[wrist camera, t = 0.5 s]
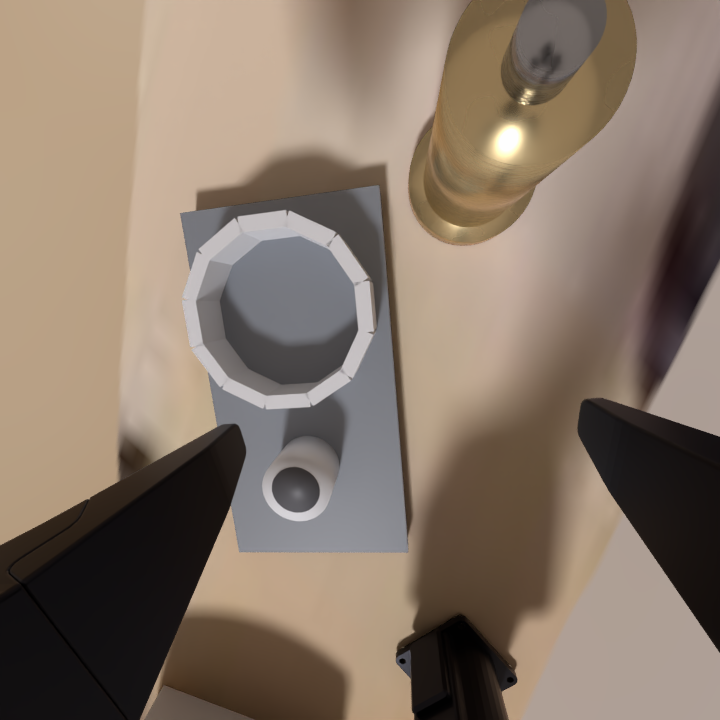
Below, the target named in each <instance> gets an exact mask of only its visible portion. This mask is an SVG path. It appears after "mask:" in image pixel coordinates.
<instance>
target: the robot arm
mask: <svg viewBox="0 0 720 720" xmlns="http://www.w3.org/2000/svg"><path fill="white" fill-rule="evenodd" d="M577 429H578V435H579V437H580V439H581V441H582V443H583V445H584V447H585V448H586V450H587V452H588V454H589V456H590V458H591V459H592V461H593V463H594V465H595V467H596V469H597V471H598V472H599V474H600V476H601V478H602V480H603V482H604V483H605V485H606V487H607V489H608V490H609V492H610V493H611V495H612V496H613V498H614V499H615V501H616V502H617V504H618V505H619V507H620V508H621V510H622V511H623V513H624V514H625V515H626V517H627V518H628V520H629V521H630V523H631V524H632V526H633V527H634V529H635V530H636V531H637V533H638V534H639V536H640V537H641V539H642V540H643V542H644V543H645V545H646V546H647V548H648V549H649V550H650V552H651V553H652V555H653V556H654V558H655V559H656V561H657V562H658V564H659V565H660V566H661V568H662V569H663V571H664V572H665V574H666V575H667V576H668V578H669V579H670V581H671V582H672V584H673V585H674V587H675V588H676V590H677V591H678V593H679V594H680V595H681V597H682V598H683V600H684V601H685V603H686V604H687V606H688V607H689V609H690V610H691V612H692V613H693V614H694V616H695V617H696V619H697V620H698V622H699V623H700V625H701V626H702V627H703V629H704V630H705V632H706V633H707V635H708V636H709V638H710V639H711V641H712V642H713V644H714V645H715V647H716V648H717V649H718V651H719V652H720V437H718V436H716V435H713V434H710V433H707V432H704V431H701V430H698V429H695V428H692V427H689V426H686V425H682V424H680V423H676V422H673V421H671V420H668V419H665V418H661V417H658V416H655V415H653V414H650V413H646V412H643V411H640V410H637V409H634V408H631V407H628V406H625V405H622V404H619V403H616V402H613V401H610V400H607V399H604V398H591V399H585V400H583V401H582V403H581V406H580V413H579V420H578V427H577ZM245 458H246V446H245V442H244V439H243V436H242V433H241V430H240V427H239V426H238V425H237V424H235V423H233V424H222V425H220V426H218V427H217V428H215V429H213V430H211V431H209V432H208V433H206V434H204V435H202V436H200V437H198V438H197V439H195V440H193V441H191V442H189V443H188V444H186V445H184V446H182V447H180V448H179V449H177V450H175V451H173V452H171V453H170V454H168V455H166V456H164V457H162V458H161V459H159V460H157V461H155V462H153V463H152V464H150V465H148V466H146V467H144V468H143V469H141V470H139V471H137V472H135V473H134V474H132V475H130V476H128V477H126V478H124V479H123V480H121V481H119V482H117V483H115V484H114V485H112V486H110V487H108V488H107V489H105V490H103V491H101V492H99V493H97V494H96V495H94V496H92V497H91V498H90V500H89V499H87V500H85V501H83V502H81V503H79V504H77V505H76V506H74V507H72V508H70V509H68V510H67V511H65V512H63V513H61V514H59V515H57V516H55V517H54V518H52V519H50V520H48V521H46V522H45V523H43V524H41V525H39V526H37V527H35V528H33V529H31V530H29V531H27V532H25V533H23V534H21V535H19V536H17V537H16V538H14V539H12V540H10V541H8V542H6V543H4V544H2V545H0V720H140V718H141V715H142V713H143V710H144V708H145V706H146V703H147V701H148V699H149V696H150V694H151V692H152V689H153V687H154V685H155V682H156V680H157V678H158V675H159V673H160V671H161V668H162V666H163V664H164V661H165V659H166V656H167V654H168V652H169V649H170V647H171V645H172V642H173V640H174V638H175V635H176V633H177V631H178V628H179V626H180V624H181V621H182V619H183V617H184V614H185V612H186V610H187V607H188V605H189V603H190V600H191V598H192V595H193V593H194V591H195V588H196V586H197V584H198V581H199V579H200V577H201V574H202V572H203V570H204V567H205V565H206V563H207V560H208V558H209V556H210V553H211V551H212V549H213V546H214V544H215V541H216V539H217V537H218V534H219V532H220V530H221V527H222V525H223V523H224V520H225V518H226V516H227V513H228V511H229V508H230V506H231V503H232V500H233V497H234V494H235V490H236V487H237V484H238V481H239V477H240V474H241V471H242V468H243V464H244V461H245ZM396 663H397V664H398V665H399V666H400V668H401V669H402V670H403V671H404V672H405V673H406V674H407V675H408V676H409V677H410V678H411V700H412V712H413V713H414V720H509V719H508V715H507V712H506V708H505V704H504V700H503V696H502V691H503V690H505V689H507V688H509V687H511V686H513V685H515V684H516V683H517V677H516V673H515V671H514V670H513V669H512V668H511V667H510V666H509V665H508V664H507V662H506V661H505V660H504V659H503V658H502V657H501V656H500V655H499V654H498V652H497V651H496V650H495V649H494V648H493V647H492V646H491V645H490V644H489V643H488V641H487V640H486V639H485V638H484V637H483V636H482V635H481V634H480V633H479V631H478V630H477V629H476V628H475V627H474V626H473V625H472V624H471V623H470V622H469V620H468V619H467V618H466V617H464V616H462V615H461V616H456V617H455V618H453V619H451V620H449V621H448V622H446V623H444V624H443V625H441V626H439V627H438V628H436V629H434V630H433V631H431V632H429V633H428V634H426V635H424V636H423V637H421V638H419V639H418V640H416V641H414V642H413V643H411V644H409V645H408V646H406V647H404V648H403V649H401V650H399V651H398V652H397V653H396Z"/></svg>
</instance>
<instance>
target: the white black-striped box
mask: <svg viewBox="0 0 720 720" xmlns="http://www.w3.org/2000/svg"><path fill="white" fill-rule="evenodd" d="M144 720H254V719H252V718H249V717H247V716H244V715H241V714H239V713H236V712H233V711H231V710H228V709H226V708H223V707H220V706H218V705H215V704H212V703H210V702H207V701H205V700H202V699H199V698H197V697H194V696H191V695H189V694H186V693H183V692H181V691H178V690H176V689H173V688H170V687H168V686H165V685H163V687H162V689H161V691H160V692H159V694H158V696H157V698H156V700H155V701H154V703H153V705H152V707H151V709H150V710H149V712H148V714H147V716H146V717H145V719H144Z"/></svg>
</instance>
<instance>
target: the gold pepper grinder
mask: <svg viewBox="0 0 720 720" xmlns="http://www.w3.org/2000/svg"><path fill="white" fill-rule="evenodd" d="M636 52H637V37H636V30H635V23H634V19H633V16H632V12H631V9H630V7H629V5H628V2H627V0H472V2H471V3H470V4H469V6H468V7H467V9H466V10H465V12H464V13H463V14H462V16H461V18H460V20H459V22H458V24H457V26H456V28H455V30H454V33H453V35H452V38H451V40H450V44H449V48H448V51H447V56H446V61H445V66H444V71H443V76H442V81H441V87H440V92H439V97H438V102H437V107H436V112H435V118H434V123H433V127H431V129H430V130H429V131H428V132H427V133H426V134H425V136H424V137H423V138H422V140H421V141H420V143H419V145H418V147H417V149H416V151H415V153H414V156H413V158H412V162H411V166H410V172H409V182H408V193H409V201H410V205H411V208H412V211H413V213H414V215H415V217H416V219H417V221H418V222H419V224H420V225H421V226H422V227H423V228H424V229H425V230H426V231H427V232H428V233H429V234H430V235H432V236H433V237H435V238H436V239H438V240H440V241H443V242H445V243H448V244H452V245H460V246H462V245H474V244H478V243H482V242H485V241H487V240H489V239H491V238H493V237H495V236H496V235H498V234H500V233H501V232H503V231H504V230H506V229H507V228H508V227H509V226H511V225H512V224H513V223H514V222H515V221H516V220H517V219H518V218H519V217H520V215H521V214H522V213H523V212H524V210H525V209H526V207H527V205H528V204H529V202H530V200H531V198H532V195H533V192H534V189H535V186H536V185H537V184H539V183H540V182H541V181H542V180H543V179H545V178H546V177H547V176H548V175H549V174H551V173H552V172H553V171H554V170H555V169H557V168H558V167H559V166H560V165H561V164H562V163H564V162H565V161H566V160H567V159H568V158H570V157H571V156H572V155H573V154H574V153H576V152H577V151H578V150H579V149H580V148H582V147H583V146H584V145H585V144H586V143H588V142H589V141H590V140H591V139H592V138H594V137H595V136H596V135H597V134H598V133H599V132H600V131H601V130H602V129H603V128H604V127H605V125H606V124H607V123H608V122H609V120H610V119H611V118H612V117H613V115H614V114H615V112H616V111H617V109H618V108H619V106H620V104H621V102H622V100H623V98H624V96H625V94H626V92H627V89H628V87H629V84H630V81H631V79H632V75H633V70H634V66H635V59H636Z"/></svg>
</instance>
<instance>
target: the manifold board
mask: <svg viewBox="0 0 720 720" xmlns="http://www.w3.org/2000/svg"><path fill="white" fill-rule="evenodd" d="M180 215H181V221H182V227H183V232H184V238H185V244H186V249H187V255H188V261H189V267H190V274H189V277H188V280H187V283H186V287H185V290H184V293H183V296H182V297H183V298H185V299H187V300H182V304H183V309H184V315H185V320H186V326H187V331H188V337H189V342H190V347H195V348H194V349H192V351H193V352H194V354H195V355H196V356H197V358H198V359H199V360H200V362H201V363H202V364H203V366H204V367H205V368H206V370H207V371H208V375H209V381H210V387H211V393H212V398H213V404H214V410H215V416H216V421H217V427H218V426H220V425H222V424H233V423H235V424H237V425H238V426H239V427H240V430H241V433H242V436H243V439H244V442H245V446H246V458H245V461H244V464H243V468H242V471H241V474H240V477H239V481H238V484H237V487H236V490H235V494H234V497H233V500H232V503H231V507H232V513H233V519H234V524H235V530H236V536H237V542H238V547H239V552H406V553H408V534H407V521H406V509H405V496H404V483H403V471H402V458H401V445H400V433H399V420H398V407H397V394H396V382H395V369H394V356H393V344H392V331H391V318H390V306H389V293H388V280H387V268H386V255H385V242H384V229H383V217H382V204H381V193H380V187H379V185H375V186H368V187H361V188H354V189H347V190H340V191H333V192H326V193H319V194H312V195H305V196H298V197H291V198H284V199H277V200H270V201H262V202H255V203H248V204H241V205H234V206H227V207H220V208H213V209H206V210H199V211H192V212H185V213H180Z"/></svg>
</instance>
